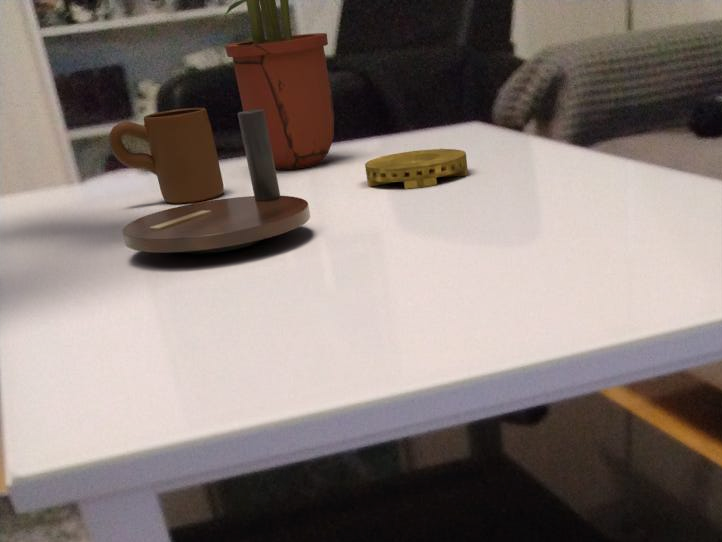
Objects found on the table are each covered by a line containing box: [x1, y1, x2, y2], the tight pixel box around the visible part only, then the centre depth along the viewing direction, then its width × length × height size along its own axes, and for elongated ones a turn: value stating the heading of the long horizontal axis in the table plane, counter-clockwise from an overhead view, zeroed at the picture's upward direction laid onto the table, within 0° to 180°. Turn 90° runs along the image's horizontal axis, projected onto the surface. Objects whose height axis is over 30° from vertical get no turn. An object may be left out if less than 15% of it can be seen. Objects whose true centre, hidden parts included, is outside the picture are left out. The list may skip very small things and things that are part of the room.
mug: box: [108, 107, 225, 204], centre depth 122 cm, size 12×8×9 cm, turn 107°
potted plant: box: [224, 0, 341, 171], centre depth 127 cm, size 17×16×35 cm
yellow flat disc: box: [364, 148, 469, 190], centre depth 121 cm, size 12×12×2 cm
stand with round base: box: [121, 109, 311, 255], centre depth 98 cm, size 18×18×11 cm
